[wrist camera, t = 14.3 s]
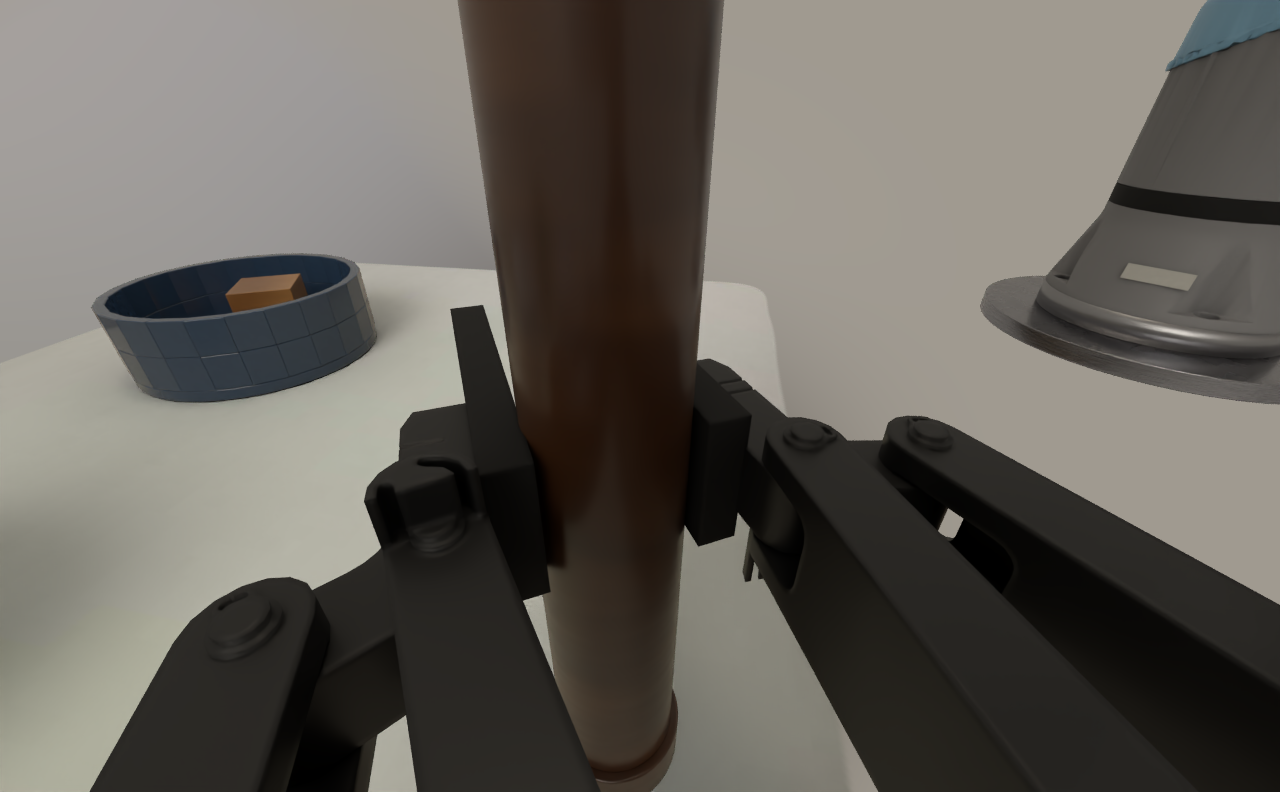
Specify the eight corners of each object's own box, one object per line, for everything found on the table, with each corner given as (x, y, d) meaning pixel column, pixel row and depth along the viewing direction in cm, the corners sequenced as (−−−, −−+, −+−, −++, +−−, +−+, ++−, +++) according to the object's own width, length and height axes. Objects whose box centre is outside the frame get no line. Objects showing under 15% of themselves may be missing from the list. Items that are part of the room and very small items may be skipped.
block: (316, 320, 41) (300, 273, 39) (308, 338, 38) (290, 288, 36) (260, 326, 40) (240, 278, 38) (247, 346, 37) (224, 294, 35)
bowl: (382, 306, 47) (366, 247, 44) (369, 379, 34) (346, 304, 32) (184, 327, 42) (152, 262, 39) (89, 421, 30) (33, 336, 27)
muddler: (649, 658, 15) (669, -31, 7) (696, 772, 13) (823, -109, 4) (545, 697, 14) (420, -56, 6) (574, 830, 12) (423, -178, 3)
